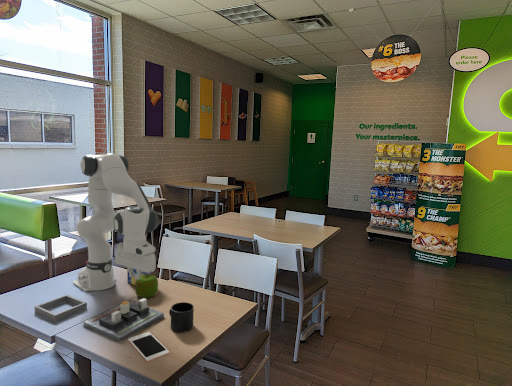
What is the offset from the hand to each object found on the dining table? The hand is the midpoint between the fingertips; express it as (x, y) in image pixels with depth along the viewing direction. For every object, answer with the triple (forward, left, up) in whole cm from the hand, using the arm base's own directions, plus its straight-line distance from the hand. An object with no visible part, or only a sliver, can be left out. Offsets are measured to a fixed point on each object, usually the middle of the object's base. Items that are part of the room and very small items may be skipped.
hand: (134, 278), depth 146 cm
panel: (-6, 0, -21) cm, 22 cm away
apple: (-18, +24, -21) cm, 37 cm away
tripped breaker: (-6, 0, -17) cm, 18 cm away
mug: (+16, +10, -21) cm, 29 cm away
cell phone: (+16, -8, -22) cm, 28 cm away
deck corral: (-37, -9, -21) cm, 43 cm away
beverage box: (-33, +33, -21) cm, 51 cm away
